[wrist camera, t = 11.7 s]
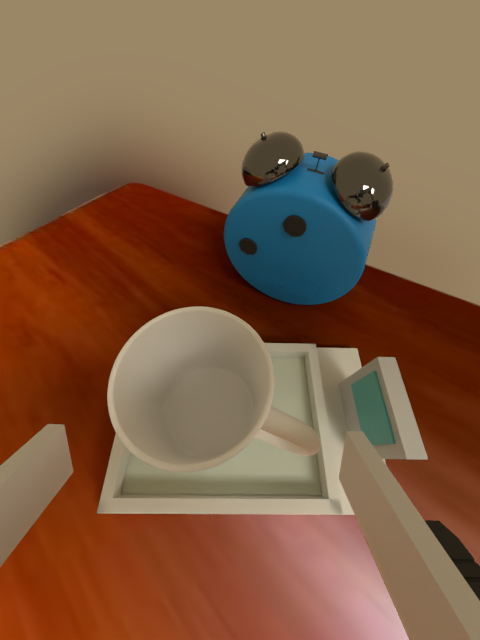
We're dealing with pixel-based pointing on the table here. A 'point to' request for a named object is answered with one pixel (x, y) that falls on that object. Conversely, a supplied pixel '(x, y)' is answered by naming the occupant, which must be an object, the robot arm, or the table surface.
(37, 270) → the table surface
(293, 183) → the alarm clock
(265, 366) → the cup
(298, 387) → the dock
